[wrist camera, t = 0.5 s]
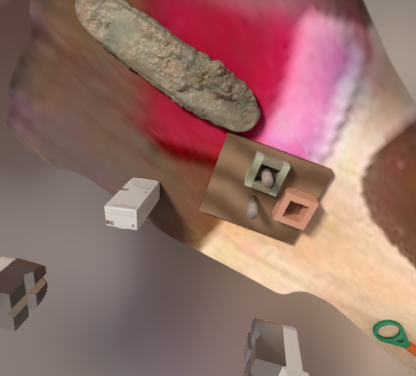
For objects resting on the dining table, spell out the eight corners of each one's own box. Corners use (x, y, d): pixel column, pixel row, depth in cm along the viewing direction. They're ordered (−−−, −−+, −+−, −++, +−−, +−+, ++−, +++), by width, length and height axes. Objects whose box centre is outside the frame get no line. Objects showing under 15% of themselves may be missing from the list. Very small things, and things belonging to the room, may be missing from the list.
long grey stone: (98, -30, 46) (80, 30, 51) (78, -38, 42) (60, 29, 46) (275, 96, 48) (241, 142, 53) (274, 101, 44) (237, 151, 48)
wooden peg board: (228, 130, 52) (224, 142, 46) (331, 169, 52) (342, 185, 46) (200, 206, 60) (193, 225, 53) (290, 240, 60) (294, 263, 53)
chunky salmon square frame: (285, 185, 53) (287, 192, 51) (315, 196, 53) (319, 204, 51) (272, 211, 56) (273, 219, 53) (301, 222, 56) (303, 230, 53)
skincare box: (160, 180, 59) (138, 208, 48) (160, 199, 61) (139, 231, 50) (131, 176, 59) (103, 204, 48) (132, 196, 61) (105, 226, 50)
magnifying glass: (365, 327, 67) (368, 333, 66) (387, 314, 65) (390, 320, 63) (411, 360, 69) (415, 367, 68) (434, 348, 67) (439, 355, 65)
